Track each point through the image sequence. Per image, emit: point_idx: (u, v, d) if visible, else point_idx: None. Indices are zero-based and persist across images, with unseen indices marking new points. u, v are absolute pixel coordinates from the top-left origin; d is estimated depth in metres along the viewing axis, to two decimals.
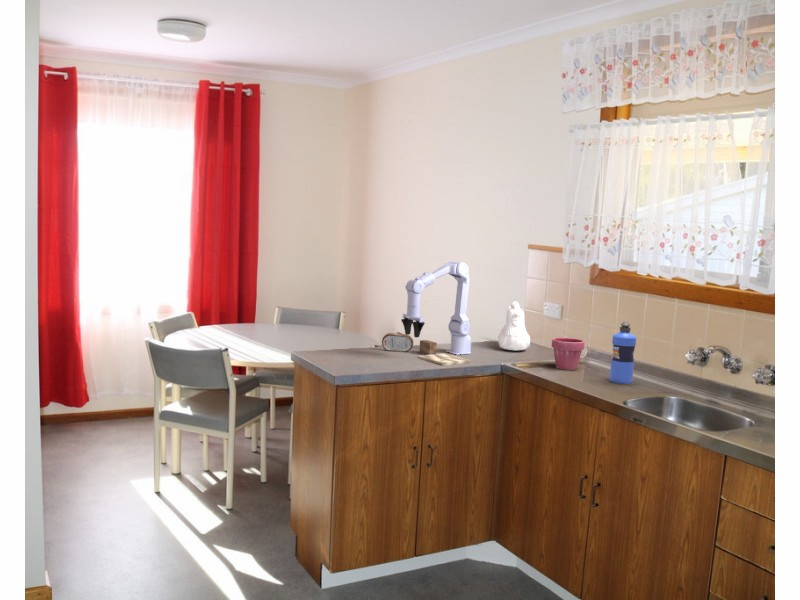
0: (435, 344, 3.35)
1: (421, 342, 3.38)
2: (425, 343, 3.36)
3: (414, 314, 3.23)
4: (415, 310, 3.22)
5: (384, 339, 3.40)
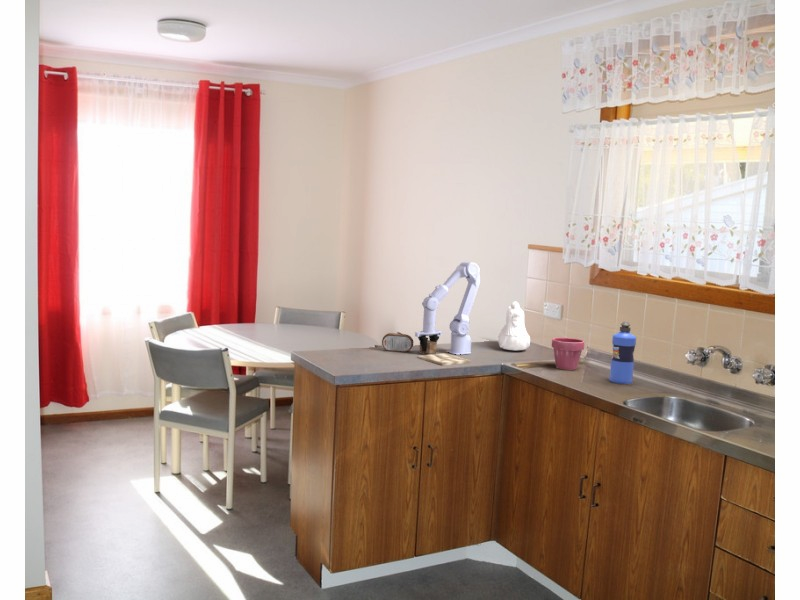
0: (435, 344, 3.35)
1: None
2: None
3: (423, 329, 3.36)
4: (423, 325, 3.35)
5: (384, 339, 3.40)
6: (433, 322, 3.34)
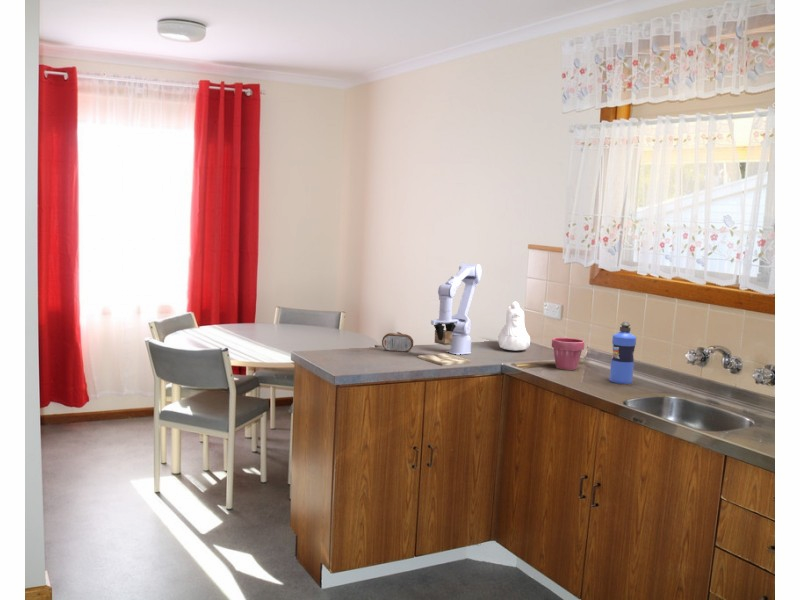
0: (451, 333, 3.27)
1: None
2: None
3: (439, 317, 3.28)
4: (439, 313, 3.27)
5: (384, 339, 3.40)
6: (451, 310, 3.27)
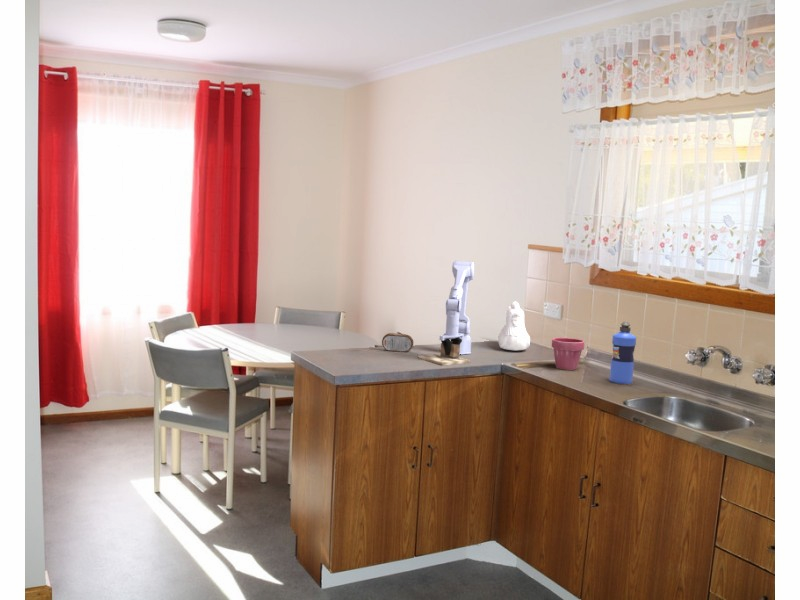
0: (458, 346, 3.24)
1: None
2: None
3: (446, 332, 3.24)
4: (447, 328, 3.24)
5: (384, 339, 3.40)
6: None
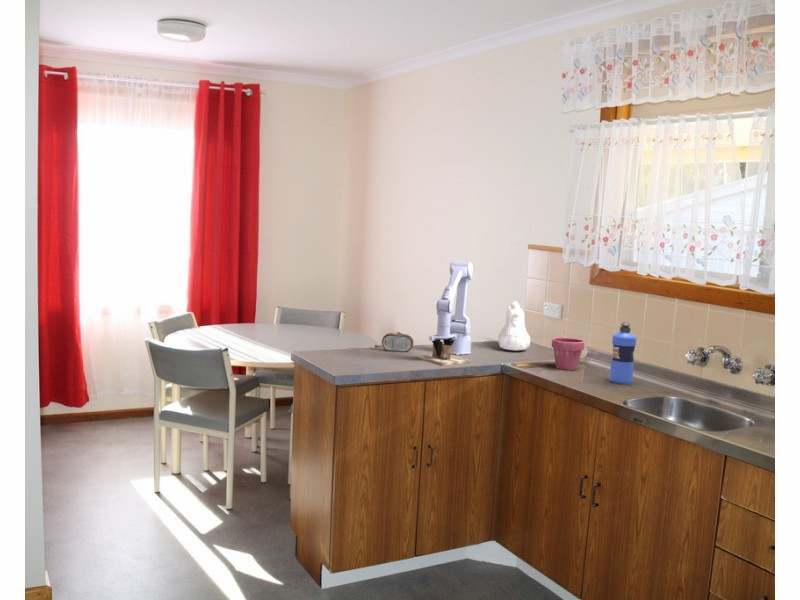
0: (449, 347, 3.21)
1: None
2: None
3: (437, 333, 3.22)
4: (437, 329, 3.21)
5: (384, 339, 3.40)
6: (450, 325, 3.22)
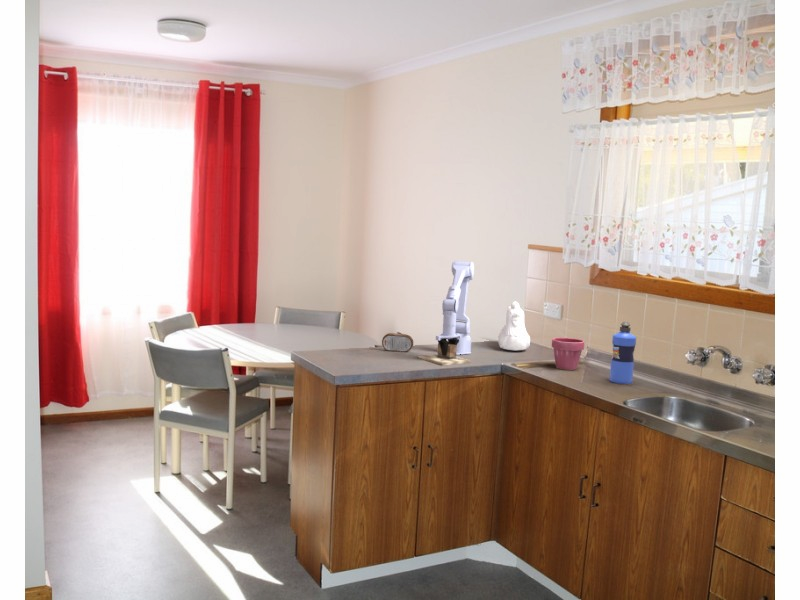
0: (455, 347, 3.23)
1: None
2: None
3: (443, 332, 3.23)
4: (443, 328, 3.23)
5: (384, 339, 3.40)
6: (455, 324, 3.24)
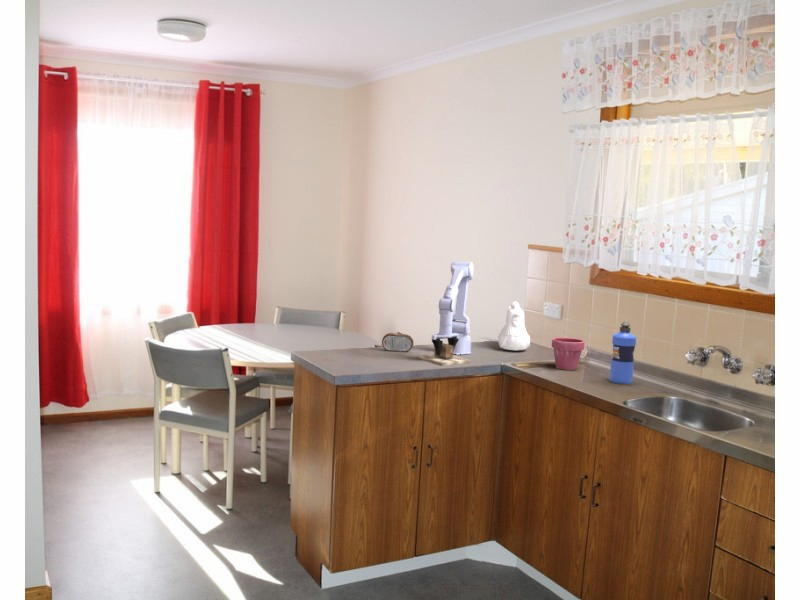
0: (451, 347, 3.22)
1: None
2: (441, 346, 3.23)
3: (439, 332, 3.22)
4: (440, 327, 3.22)
5: (384, 339, 3.40)
6: (452, 324, 3.23)
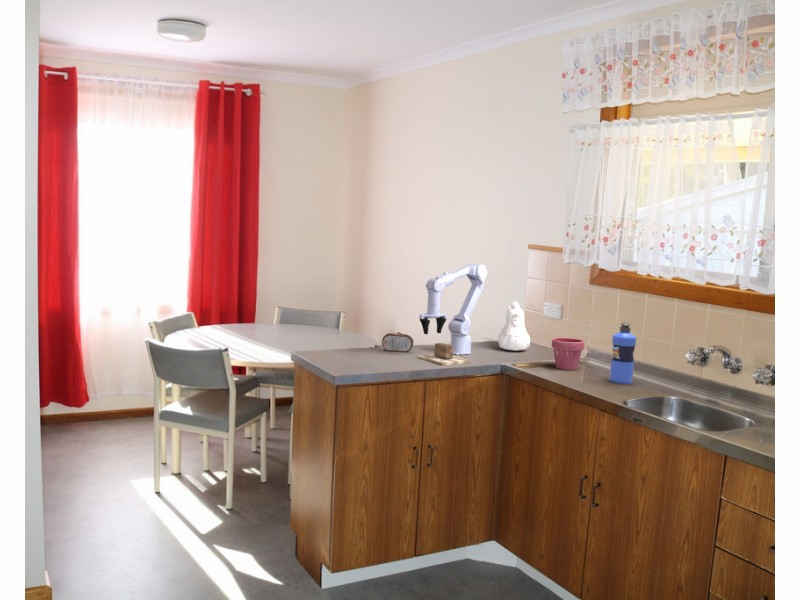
0: (451, 347, 3.22)
1: (436, 345, 3.25)
2: (441, 346, 3.23)
3: (427, 311, 3.31)
4: None
5: (384, 339, 3.40)
6: (439, 304, 3.30)
